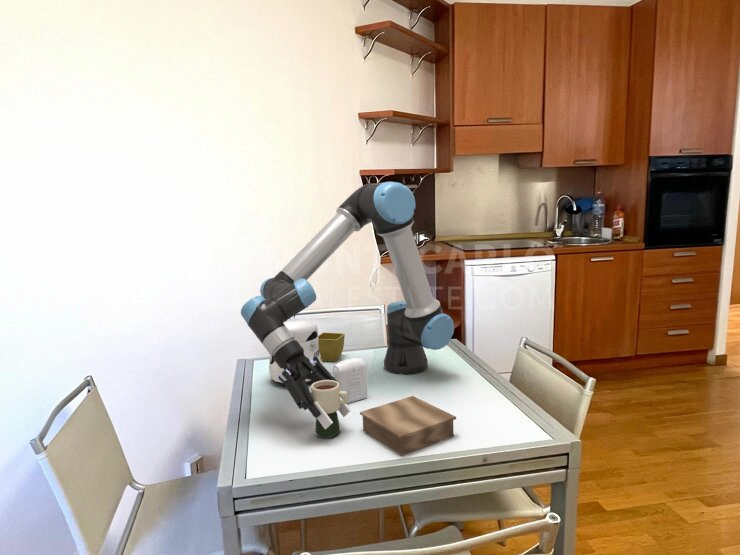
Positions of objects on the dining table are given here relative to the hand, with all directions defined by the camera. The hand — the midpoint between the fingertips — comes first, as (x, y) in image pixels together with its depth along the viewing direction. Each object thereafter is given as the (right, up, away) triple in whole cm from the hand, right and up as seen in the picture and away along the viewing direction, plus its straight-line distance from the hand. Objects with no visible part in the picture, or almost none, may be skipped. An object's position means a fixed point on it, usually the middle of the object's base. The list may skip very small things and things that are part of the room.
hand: (338, 419), depth 128 cm
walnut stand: (+17, -4, +1) cm, 18 cm away
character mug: (-3, -4, +3) cm, 6 cm away
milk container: (-16, +1, +42) cm, 45 cm away
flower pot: (-6, +5, +62) cm, 62 cm away
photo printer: (+2, -1, +24) cm, 24 cm away
